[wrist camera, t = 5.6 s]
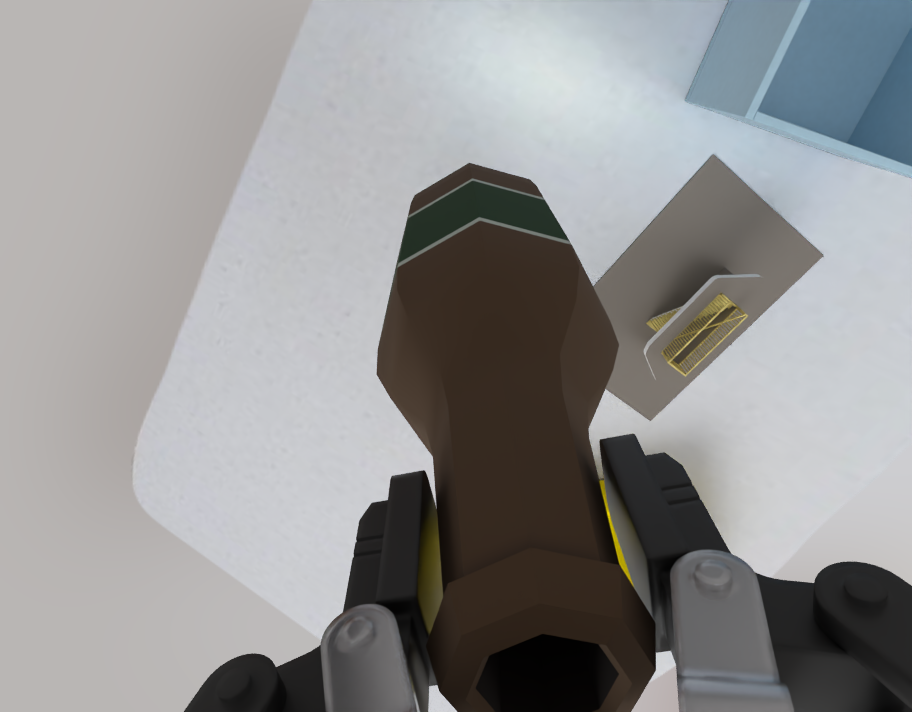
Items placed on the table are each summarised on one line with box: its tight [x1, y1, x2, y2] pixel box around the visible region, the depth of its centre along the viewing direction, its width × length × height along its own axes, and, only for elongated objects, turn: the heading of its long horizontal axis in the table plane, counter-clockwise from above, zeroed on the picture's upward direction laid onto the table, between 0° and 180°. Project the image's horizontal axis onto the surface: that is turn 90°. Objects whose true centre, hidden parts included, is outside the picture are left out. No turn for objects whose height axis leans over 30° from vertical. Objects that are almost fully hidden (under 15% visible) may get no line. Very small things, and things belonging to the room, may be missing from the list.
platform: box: [593, 154, 823, 421], centre depth 46 cm, size 12×18×7 cm, turn 143°
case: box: [685, 0, 912, 178], centre depth 37 cm, size 12×12×10 cm
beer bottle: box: [377, 163, 656, 712], centre depth 21 cm, size 8×8×24 cm
